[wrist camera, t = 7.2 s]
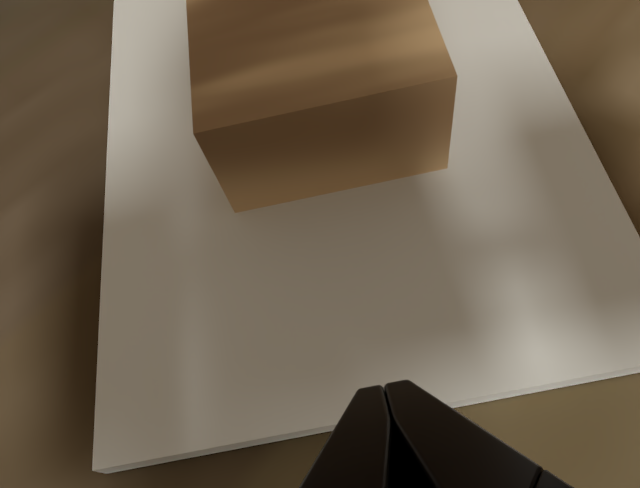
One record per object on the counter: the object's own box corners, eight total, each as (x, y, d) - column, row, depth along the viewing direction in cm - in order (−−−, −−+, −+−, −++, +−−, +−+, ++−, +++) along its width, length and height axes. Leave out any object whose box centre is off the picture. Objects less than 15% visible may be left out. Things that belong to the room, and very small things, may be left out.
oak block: (457, 75, 14) (365, -159, 20) (193, 133, 14) (179, -114, 20) (447, 168, 17) (372, -54, 23) (234, 212, 18) (213, -18, 24)
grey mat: (685, 363, 14) (700, 354, 14) (106, 473, 15) (92, 470, 15) (456, -97, 25) (458, -115, 25) (123, -19, 26) (115, -35, 25)
